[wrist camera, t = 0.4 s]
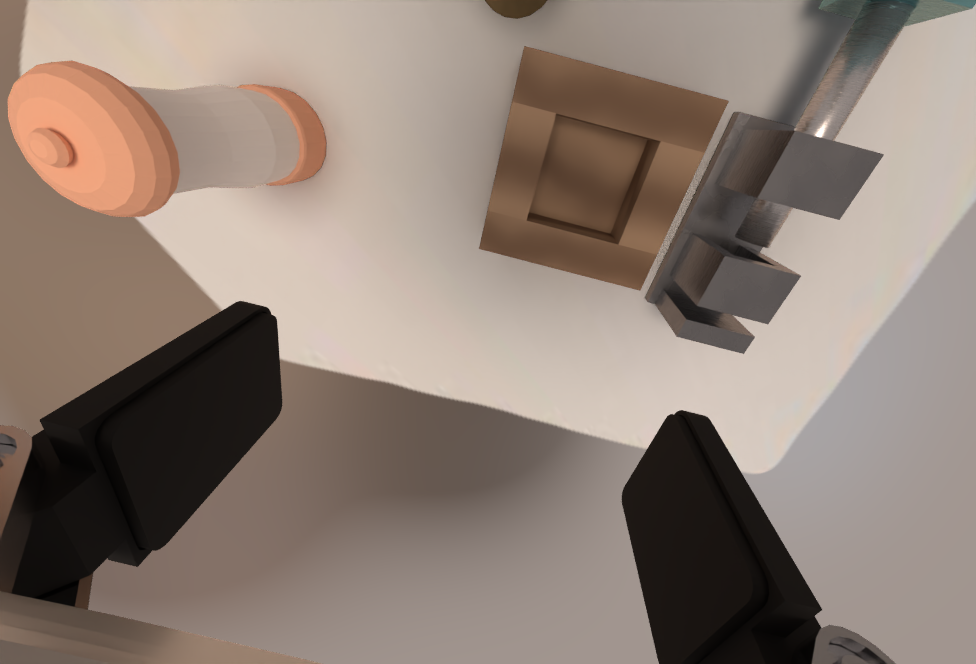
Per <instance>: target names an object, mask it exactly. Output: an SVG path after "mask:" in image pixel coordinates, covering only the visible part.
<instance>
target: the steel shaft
mask: <svg viewBox="0 0 976 664" xmlns="http://www.w3.org/2000/svg"><path fill="white" fill-rule="evenodd" d="M975 4H976V0H822V2H821V4H820V6H819V8H818V9H820V10H824V11H828V12H831V13H835V14H839V15H842V16H846V17H850V18H853V19H856V20H855V21H854V23H853V25H852V27H851V29H850V30H849V32H848V34H847V36H846V38H845V39H844V41H843V43H842V45H841V47H840V48H839V50H838V52H837V54H836V55H835V57H834V59H833V61H832V63H831V64H830V66H829V68H828V70H827V72H826V73H825V75H824V77H823V79H822V81H821V82H820V84H819V86H818V88H817V89H816V91H815V93H814V95H813V97H812V98H811V100H810V102H809V104H808V106H807V107H806V109H805V111H804V113H803V115H802V116H801V118H800V120H799V122H798V124H797V125H796V127H795V129H794V131H798V132H802V133H806V134H810V135H813V136H817V137H821V138H824V139H828V140H832V141H834V140H835V139H836V137H837V135H838V134H839V132H840V130H841V129H842V127H843V125H844V124H845V122H846V121H847V119H848V117H849V116H850V114H851V112H852V111H853V109H854V108H855V106H856V104H857V103H858V101H859V99H860V98H861V96H862V94H863V93H864V91H865V90H866V88H867V86H868V85H869V83H870V81H871V80H872V78H873V77H874V75H875V73H876V72H877V70H878V68H879V67H880V65H881V63H882V62H883V60H884V59H885V57H886V55H887V54H888V52H889V50H890V49H891V47H892V46H893V44H894V42H895V41H896V39H897V37H898V36H899V34H900V33H901V31H902V29H903V28H904V26H908V25H912V24H916V23H920V22H923V21H927V20H931V19H935V18H938V17H942V16H946V15H950V14H953V13H957V12H961V11H965V10H968V9H972V8H973V7H974V5H975ZM792 209H793V208H792V207H789V206H785V205H781V204H777V203H774V202H770V201H766V200H762V199H758V198H756V199H755V200H754V202H753V204H752V206H751V208H750V209H749V211H748V213H747V215H746V217H745V218H744V220H743V222H742V224H741V226H740V227H739V229H738V231H737V233H736V235H735V237H736V238H738V239H740V240H743V241H745V242H748V243H751V244H754V245H757V246H761V247H766V248H769V246H770V245H771V243H772V241H773V240H774V238H775V236H776V235H777V233H778V232H779V230H780V228H781V227H782V225H783V223H784V222H785V220H786V218H787V217H788V215H789V214H790V212H791V210H792Z"/></svg>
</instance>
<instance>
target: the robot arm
mask: <svg viewBox="0 0 976 664" xmlns="http://www.w3.org/2000/svg"><path fill="white" fill-rule="evenodd" d="M281 408H282V391H281V375H280V360H279V344H278V328H277V319H276V317H275V316H273V315H271V312H270V310H269V309H268V308H267V307H264V306H260V305H256V304H252V303H248V302H244V301H239V302H236V303H234V304H233V305H231V306H229V307H228V308H226V309H224V310H223V311H221V312H219V313H218V314H216V315H214V316H212V317H211V318H209V319H207V320H206V321H204V322H203V323H201V324H199V325H197V326H196V327H194V328H192V329H191V330H189V331H187V332H186V333H184V334H182V335H181V336H179V337H177V338H176V339H174V340H172V341H171V342H169V343H167V344H166V345H164V346H162V347H161V348H159V349H157V350H156V351H154V352H152V353H151V354H149V355H147V356H146V357H144V358H142V359H141V360H139V361H137V362H136V363H134V364H132V365H131V366H129V367H127V368H125V369H124V370H122V371H120V372H119V373H117V374H115V375H114V376H112V377H110V378H109V379H107V380H105V381H104V382H102V383H100V384H99V385H97V386H95V387H94V388H92V389H90V390H89V391H87V392H86V393H84V394H82V395H80V396H79V397H77V398H75V399H74V400H72V401H70V402H69V403H67V404H65V405H63V406H62V407H60V408H59V409H57V410H55V411H53V412H52V413H50V414H48V415H47V416H45V417H44V418H42V419H40V422H41V424H42V426H43V428H44V430H42V431H41V432H39V433H38V434H36V435H34V436H33V437H31V436H30V435H29V434H28V433H27V432H26V431H25V430H23V429H20V428H17V427H14V426H4V425H0V664H321V663H318V662H314V661H309V660H305V659H301V658H297V657H292V656H288V655H284V654H279V653H275V652H271V651H267V650H262V649H258V648H254V647H249V646H245V645H240V644H236V643H232V642H228V641H223V640H219V639H215V638H210V637H206V636H202V635H197V634H193V633H189V632H184V631H180V630H175V629H171V628H167V627H163V626H158V625H154V624H149V623H145V622H141V621H137V620H132V619H128V618H124V617H119V616H115V615H110V614H106V613H101V612H96V611H92V610H88V606H89V599H90V593H91V586H92V579H93V572H94V571H95V570H96V569H97V568H98V567H99V566H100V565H101V564H102V563H103V562H104V561H105V560H106V559H107V558H108V560H111V561H115V562H120V563H124V564H128V565H132V566H136V567H138V566H139V565H140V564H141V563H142V561H143V560H144V559H145V558H146V557H147V556H148V555H149V554H150V553H151V551H152V550H158V549H161V548H162V547H163V546H165V545H166V544H167V543H168V542H169V541H170V539H171V538H172V537H173V536H174V535H175V534H176V533H177V532H178V530H179V529H180V528H181V527H182V526H183V525H184V524H185V522H186V521H187V520H188V519H189V518H190V517H191V516H192V514H193V513H194V512H195V511H196V510H197V509H198V508H199V506H200V505H201V504H202V503H203V502H204V501H205V500H206V499H207V497H208V496H209V495H210V494H211V493H212V491H214V489H215V488H216V487H217V486H218V485H219V484H220V483H221V481H222V480H223V479H224V478H225V477H226V476H227V474H228V473H229V472H230V471H231V470H232V469H233V468H234V467H235V465H236V464H237V463H238V462H239V461H240V460H241V458H242V457H243V456H244V455H245V454H246V453H247V452H248V451H249V450H250V448H251V447H252V446H253V445H254V444H255V443H256V441H257V440H258V439H259V438H260V437H261V436H262V435H263V433H264V432H265V431H266V430H267V429H268V428H269V427H270V426H271V424H272V423H273V422H274V421H275V420H276V419H277V417H278V416H279V414H280V411H281ZM622 505H623V509H624V514H625V517H626V522H627V527H628V531H629V535H630V540H631V544H632V548H633V553H634V557H635V562H636V566H637V570H638V574H639V579H640V583H641V588H642V592H643V597H644V601H645V605H646V609H647V613H648V618H649V623H650V627H651V631H652V636H653V640H654V644H655V648H656V653H657V658H658V661H659V664H895V663H894V661H892V660H891V659H890V658H889V657H888V656H887V655H886V654H884V653H883V652H882V651H881V650H880V649H879V648H877V647H876V646H875V645H874V644H872V643H871V642H869V641H868V640H866V639H865V638H863V637H862V636H860V635H859V634H857V633H855V632H852V631H850V630H848V629H845V628H843V627H839V626H832V625H828V626H826V627H823V628H821V627H820V625H819V623H818V621H817V620H816V618H815V615H816V614H817V613H819V612H820V611H821V610H822V609H821V607H820V605H819V603H818V602H817V600H816V598H815V597H814V595H813V593H812V592H811V590H810V588H809V587H808V585H807V583H806V581H805V580H804V578H803V576H802V575H801V573H800V571H799V570H798V568H797V566H796V564H795V563H794V561H793V559H792V558H791V556H790V554H789V553H788V551H787V549H786V548H785V546H784V544H783V542H782V541H781V539H780V537H779V536H778V534H777V532H776V531H775V529H774V527H773V526H772V524H771V522H770V520H769V519H768V517H767V515H766V514H765V512H764V510H763V509H762V507H761V505H760V504H759V502H758V500H757V498H756V497H755V495H754V493H753V492H752V490H751V488H750V487H749V485H748V483H747V482H746V480H745V478H744V477H743V475H742V473H741V471H740V470H739V468H738V466H737V465H736V463H735V461H734V460H733V458H732V456H731V454H730V453H729V451H728V449H727V448H726V446H725V444H724V443H723V441H722V439H721V438H720V436H719V434H718V432H717V431H716V429H715V427H714V426H713V424H712V422H711V421H710V419H709V418H708V417H706V416H703V415H699V414H695V413H691V412H687V411H683V410H681V411H678V412H676V413H675V415H673V414H670V415H669V416H667V418H666V419H665V421H664V422H663V424H662V426H661V427H660V429H659V431H658V432H657V434H656V436H655V437H654V439H653V441H652V442H651V444H650V446H649V447H648V449H647V450H646V452H645V454H644V455H643V457H642V459H641V460H640V462H639V464H638V465H637V467H636V469H635V470H634V472H633V474H632V475H631V477H630V479H629V480H628V482H627V483H626V485H625V487H624V489H623V492H622Z"/></svg>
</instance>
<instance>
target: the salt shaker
mask: <svg viewBox="0 0 976 664" xmlns="http://www.w3.org/2000/svg"><path fill="white" fill-rule="evenodd" d="M8 119H9V122H10V125H11V128H12V131H13V134H14V137H15V140H16V142H17V144H18V145H19V147H20V149H21V151H22V152H23V154H24V156H25V158H26V159H27V161H28V162H29V163H30V165H31V166H32V167H33V168H34V169H35V170H36V172H37V173H38V174H39V175H40V177H41V178H42V179H43V180H44V181H45V182H47V183H48V184H49V185H50V186H51V187H52V188H54V189H55V190H56V191H57V192H59V194H61V195H62V196H64V197H66V198H68V199H70V200H71V201H73V202H75V203H76V204H78V205H80V206H83V207H86V208H88V209H91V210H94V211H97V212H100V213H104V214H107V215H111V216H119V217H140V216H146V215H148V214H150V213H152V212H154V211H156V210H158V209H160V208H161V207H162V206H164V205H165V204H166V203H167V201H168V200H169V198H170V197H171V196H172V194H174V193H180V192H185V191H191V190H197V189H202V188H208V187H219V188H253V187H257V186H261V185H264V184H267V185H270V186H272V185H285V184H290V183H294V182H298V181H302V180H305V179H307V178H309V177H311V176H314V174H315V173H316V172H317V171H318V170H319V169H320V168H321V166H322V163H323V161H324V158H325V155H326V139H325V134H324V130H323V126H322V124H321V122H320V120H319V118H318V116H317V114H316V113H315V112H314V110H313V109H312V108H311V107H310V106H309V104H308V103H307V102H306V101H305V100H304V99H302V98H301V97H299V96H298V95H296V94H295V93H293V92H291V91H288V90H284V89H281V88H276V87H269V86H262V85H255V84H252V85H240V86H239V87H237V88H236V87H230V86H224V85H211V86H201V87H194V88H186V89H179V90H165V89H153V88H141V87H129V86H127V85H125V84H124V83H122V82H121V81H119V80H118V79H116V78H114V77H113V76H111V75H110V74H108V73H106V72H104V71H101V70H99V69H97V68H94V67H91V66H88V65H85V64H81V63H78V62H75V61H62V62H51V63H45V64H40V65H36V66H35V67H33V68H32V69H31V70H29V71H28V72H26V73H25V74H23V75H22V76H21V77H20V78H19V79H18V80H17V81H16V82H15V83H14V85H13V88H12V90H11V92H10V95H9V97H8Z"/></svg>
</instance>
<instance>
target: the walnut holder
mask: <svg viewBox="0 0 976 664" xmlns="http://www.w3.org/2000/svg"><path fill="white" fill-rule="evenodd" d="M727 104H728V101H727V100H723V99H719V98H716V97H712V96H708V95H705V94H701V93H697V92H693V91H690V90H686V89H682V88H678V87H675V86H671V85H667V84H664V83H660V82H656V81H652V80H649V79H645V78H641V77H638V76H634V75H630V74H626V73H623V72H619V71H615V70H611V69H608V68H604V67H600V66H597V65H593V64H589V63H585V62H582V61H578V60H574V59H571V58H567V57H563V56H559V55H556V54H552V53H548V52H544V51H541V50H537V49H533V48H530V47H526V46H524V50H523V55H522V59H521V64H520V68H519V73H518V77H517V81H516V86H515V90H514V95H513V99H512V104H511V108H510V113H509V117H508V122H507V126H506V131H505V135H504V140H503V144H502V149H501V153H500V158H499V162H498V166H497V171H496V175H495V180H494V184H493V189H492V193H491V198H490V202H489V207H488V211H487V216H486V220H485V225H484V229H483V234H482V238H481V243H480V247H479V249H482V250H486V251H490V252H494V253H498V254H501V255H505V256H509V257H513V258H517V259H521V260H525V261H528V262H532V263H536V264H540V265H544V266H548V267H552V268H555V269H559V270H563V271H567V272H571V273H575V274H579V275H582V276H586V277H590V278H594V279H598V280H602V281H606V282H609V283H613V284H617V285H621V286H625V287H629V288H633V289H636V290H641V288H642V286H643V283H644V281H645V279H646V277H647V275H648V273H649V271H650V268H651V266H652V264H653V262H654V260H655V258H656V256H657V253H658V251H659V249H660V247H661V245H662V243H663V241H664V238H665V236H666V234H667V232H668V230H669V228H670V226H671V223H672V221H673V219H674V217H675V215H676V213H677V211H678V208H679V206H680V204H681V202H682V200H683V198H684V196H685V193H686V191H687V189H688V187H689V185H690V183H691V181H692V179H693V176H694V174H695V172H696V170H697V168H698V166H699V164H700V161H701V159H702V157H703V155H704V153H705V151H706V149H707V146H708V144H709V142H710V140H711V138H712V136H713V134H714V131H715V129H716V127H717V125H718V123H719V121H720V119H721V116H722V114H723V112H724V110H725V108H726V106H727Z"/></svg>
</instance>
